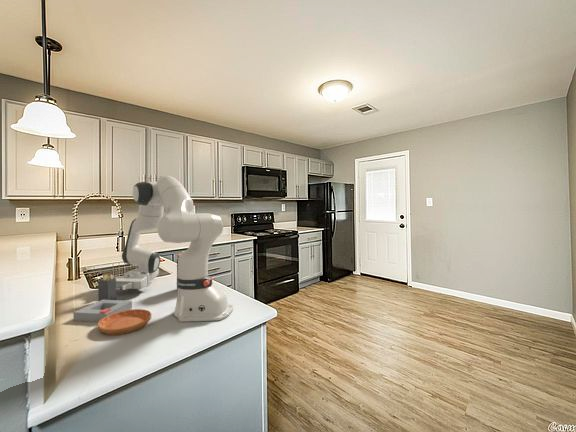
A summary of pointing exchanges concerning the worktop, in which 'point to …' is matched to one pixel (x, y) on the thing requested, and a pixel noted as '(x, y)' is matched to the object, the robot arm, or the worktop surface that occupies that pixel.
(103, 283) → the plug
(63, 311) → the worktop surface
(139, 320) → the saucer
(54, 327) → the worktop surface
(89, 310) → the socket
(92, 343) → the worktop surface
